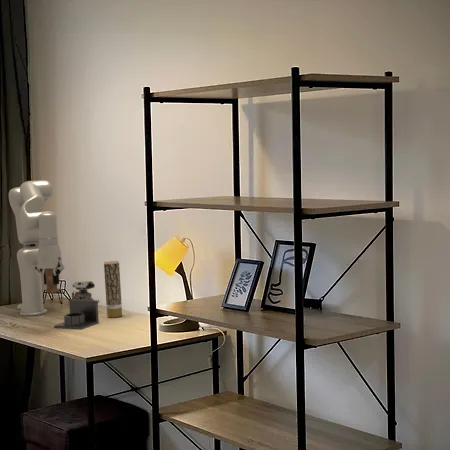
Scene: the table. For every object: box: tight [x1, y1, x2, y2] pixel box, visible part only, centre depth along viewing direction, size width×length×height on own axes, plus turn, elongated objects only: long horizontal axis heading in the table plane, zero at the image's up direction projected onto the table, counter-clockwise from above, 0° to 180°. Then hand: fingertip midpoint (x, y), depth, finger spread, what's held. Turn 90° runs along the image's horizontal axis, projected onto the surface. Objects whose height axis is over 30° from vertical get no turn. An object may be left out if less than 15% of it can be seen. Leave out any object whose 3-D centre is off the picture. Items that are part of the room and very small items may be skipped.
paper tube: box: [103, 260, 123, 319], centre depth 372 cm, size 7×7×25 cm
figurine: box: [71, 280, 100, 304], centre depth 385 cm, size 9×12×15 cm
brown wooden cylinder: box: [45, 269, 58, 294], centre depth 352 cm, size 4×4×14 cm
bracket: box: [53, 298, 99, 330], centre depth 357 cm, size 13×14×10 cm
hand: (51, 283), depth 352 cm, fingers closed on brown wooden cylinder, 4 cm apart
